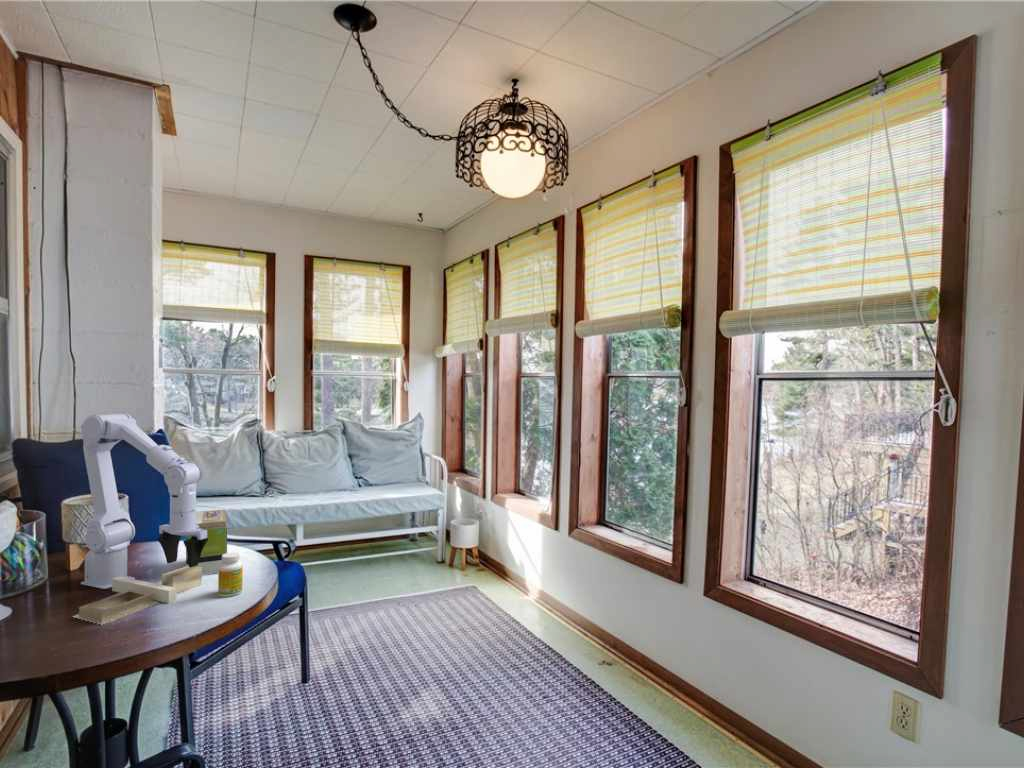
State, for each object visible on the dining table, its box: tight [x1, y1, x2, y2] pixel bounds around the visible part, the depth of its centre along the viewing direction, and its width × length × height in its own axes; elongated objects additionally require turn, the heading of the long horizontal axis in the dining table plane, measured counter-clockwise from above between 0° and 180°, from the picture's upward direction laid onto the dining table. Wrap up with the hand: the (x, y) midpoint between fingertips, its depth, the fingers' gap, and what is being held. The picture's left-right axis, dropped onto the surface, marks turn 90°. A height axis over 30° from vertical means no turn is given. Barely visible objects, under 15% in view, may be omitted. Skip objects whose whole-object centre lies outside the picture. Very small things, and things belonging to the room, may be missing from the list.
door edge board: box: [111, 576, 177, 604], centre depth 139 cm, size 20×2×3 cm, turn 69°
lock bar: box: [161, 565, 203, 595], centre depth 143 cm, size 4×8×5 cm, turn 159°
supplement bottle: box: [217, 552, 244, 598], centre depth 141 cm, size 5×5×10 cm
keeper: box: [71, 590, 160, 626], centre depth 130 cm, size 10×13×2 cm
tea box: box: [185, 508, 228, 575], centre depth 161 cm, size 15×10×15 cm, turn 27°
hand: (182, 564), depth 143 cm, fingers open, 7 cm apart
